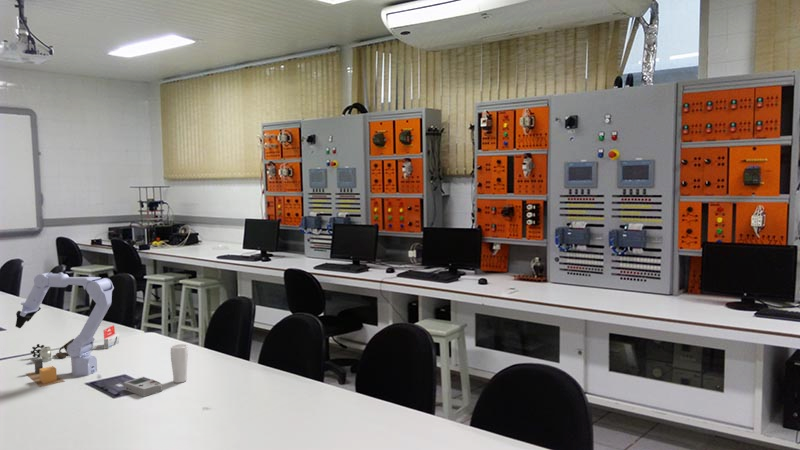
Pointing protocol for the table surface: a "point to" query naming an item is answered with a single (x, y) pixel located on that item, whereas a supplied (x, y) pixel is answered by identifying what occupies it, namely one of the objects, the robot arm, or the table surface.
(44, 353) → the valve
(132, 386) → the handheld gaming device
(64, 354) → the brown rounded piece
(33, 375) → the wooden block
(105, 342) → the ink cartridge box
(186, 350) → the drinking glass
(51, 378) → the cube
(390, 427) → the table surface
